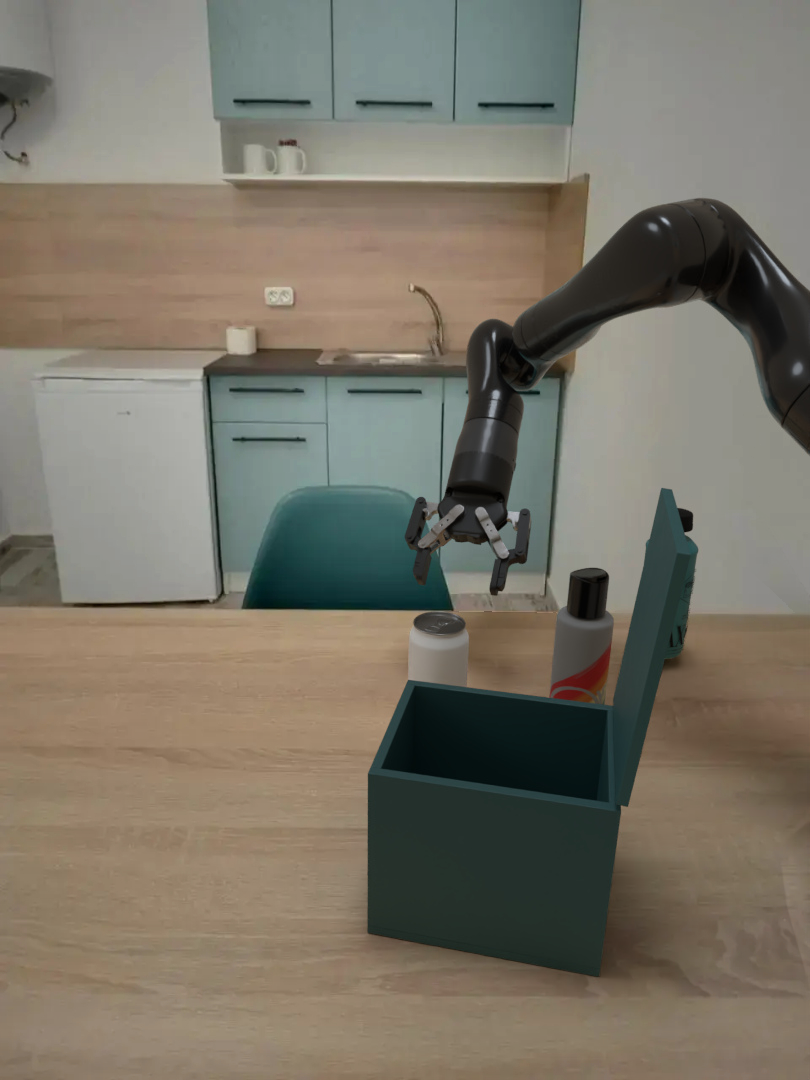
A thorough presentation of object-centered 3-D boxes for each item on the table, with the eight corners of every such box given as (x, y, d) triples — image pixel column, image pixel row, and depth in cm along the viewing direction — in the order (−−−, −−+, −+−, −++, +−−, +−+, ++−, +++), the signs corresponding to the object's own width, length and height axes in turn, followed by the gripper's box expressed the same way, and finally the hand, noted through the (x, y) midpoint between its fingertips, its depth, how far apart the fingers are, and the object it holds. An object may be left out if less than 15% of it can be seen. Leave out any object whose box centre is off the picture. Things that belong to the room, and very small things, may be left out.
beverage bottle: (628, 665, 105) (647, 515, 98) (632, 642, 111) (650, 499, 104) (682, 674, 103) (705, 522, 96) (683, 650, 109) (705, 505, 102)
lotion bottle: (573, 765, 85) (592, 586, 78) (534, 739, 89) (548, 567, 82) (610, 746, 88) (631, 573, 81) (571, 722, 92) (588, 555, 85)
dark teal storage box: (367, 933, 64) (367, 773, 59) (404, 819, 77) (407, 679, 71) (599, 977, 61) (621, 811, 56) (599, 850, 73) (617, 705, 68)
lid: (677, 552, 49) (691, 554, 49) (661, 487, 61) (672, 489, 61) (615, 804, 56) (628, 807, 55) (612, 700, 68) (622, 702, 68)
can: (475, 715, 93) (480, 619, 89) (445, 742, 88) (449, 642, 84) (427, 697, 97) (430, 604, 92) (395, 722, 92) (397, 625, 87)
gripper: (421, 443, 99) (389, 566, 93) (540, 454, 95) (515, 583, 89) (432, 474, 106) (403, 591, 99) (543, 486, 102) (521, 608, 95)
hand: (456, 587), depth 94 cm, fingers open, 8 cm apart
